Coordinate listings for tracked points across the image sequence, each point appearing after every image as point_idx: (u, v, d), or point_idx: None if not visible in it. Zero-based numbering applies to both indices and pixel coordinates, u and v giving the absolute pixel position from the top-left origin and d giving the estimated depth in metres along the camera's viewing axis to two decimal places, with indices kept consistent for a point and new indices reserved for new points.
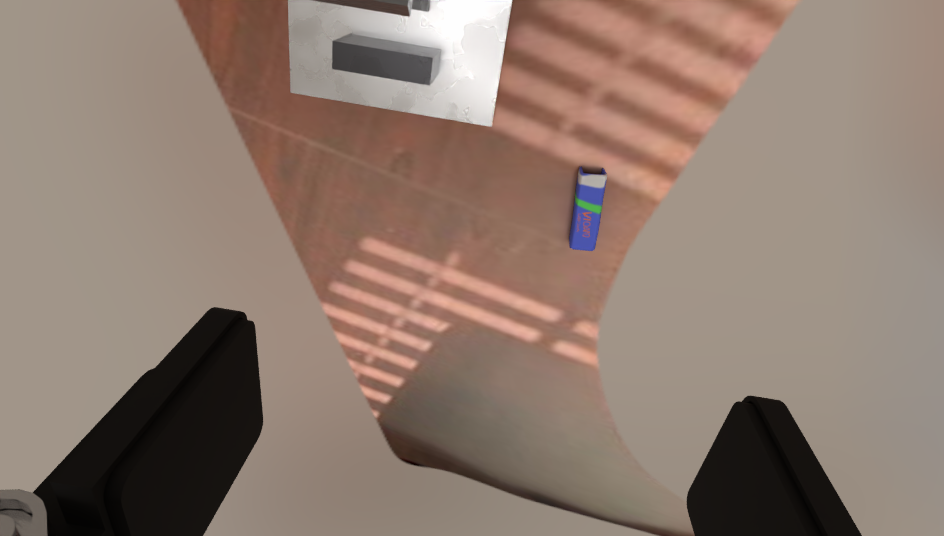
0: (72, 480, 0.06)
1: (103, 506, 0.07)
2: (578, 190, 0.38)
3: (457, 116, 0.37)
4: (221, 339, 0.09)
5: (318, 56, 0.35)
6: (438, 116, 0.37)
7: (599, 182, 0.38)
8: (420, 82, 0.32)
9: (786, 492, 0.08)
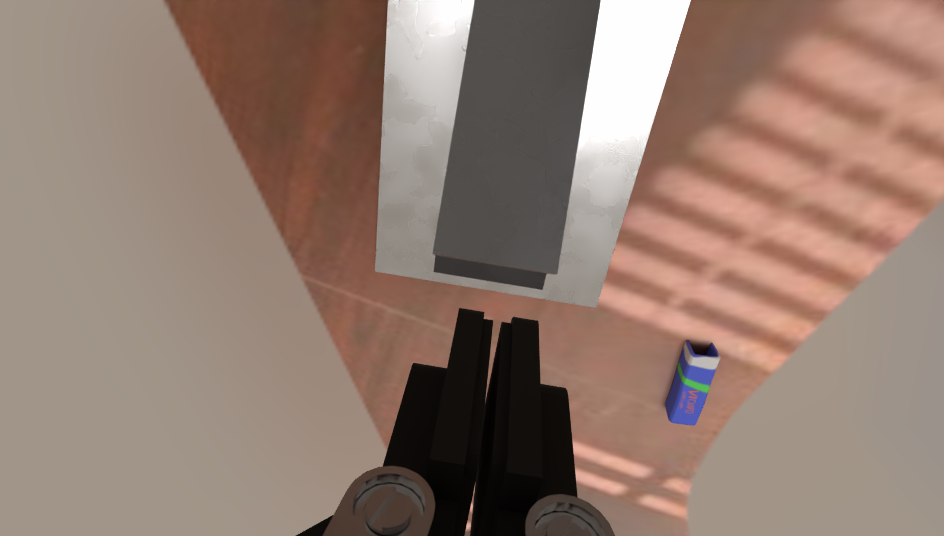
0: (443, 458, 0.07)
1: (462, 481, 0.08)
2: (686, 369, 0.35)
3: (559, 297, 0.33)
4: (481, 337, 0.10)
5: (409, 239, 0.32)
6: (537, 297, 0.33)
7: (711, 364, 0.35)
8: (532, 286, 0.29)
9: (500, 387, 0.09)
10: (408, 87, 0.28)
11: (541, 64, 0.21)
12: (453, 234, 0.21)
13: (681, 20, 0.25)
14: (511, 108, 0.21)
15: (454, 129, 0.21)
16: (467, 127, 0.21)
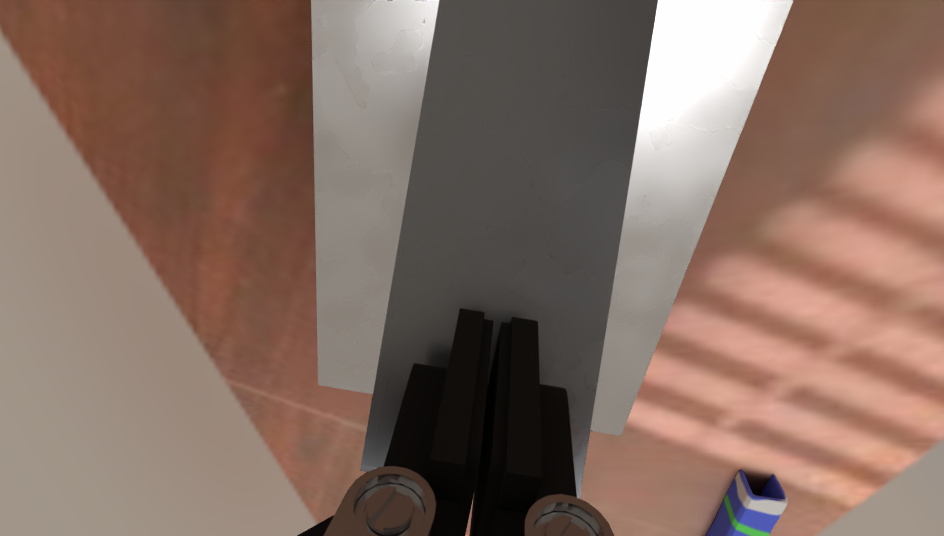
0: (444, 458, 0.07)
1: (462, 481, 0.08)
2: (740, 512, 0.26)
3: None
4: (481, 337, 0.10)
5: (362, 346, 0.23)
6: None
7: (775, 509, 0.26)
8: None
9: (499, 387, 0.09)
10: (349, 147, 0.19)
11: (550, 139, 0.12)
12: None
13: (768, 52, 0.16)
14: (498, 216, 0.12)
15: (399, 252, 0.12)
16: (421, 249, 0.12)
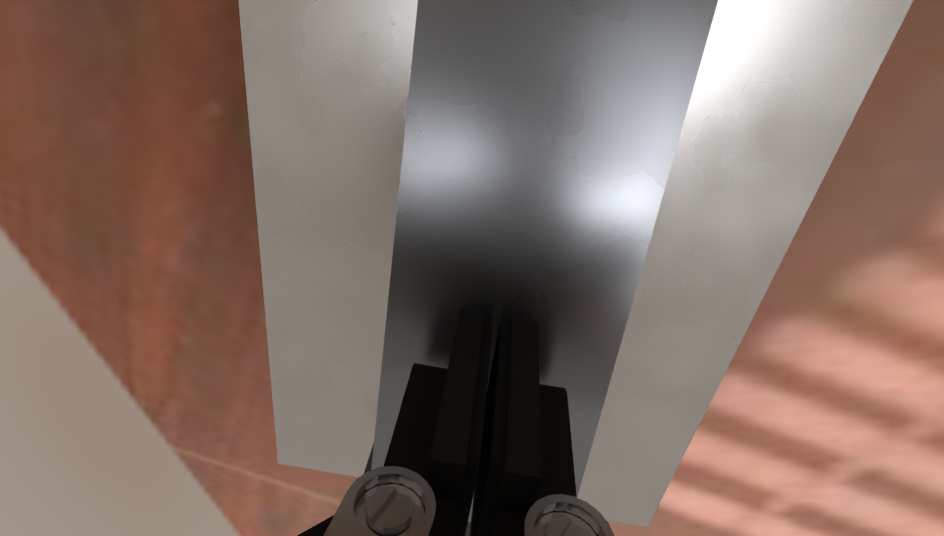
0: (444, 458, 0.07)
1: (462, 481, 0.08)
2: None
3: None
4: (481, 337, 0.10)
5: (329, 422, 0.19)
6: None
7: None
8: None
9: (499, 387, 0.09)
10: (301, 186, 0.14)
11: (553, 211, 0.10)
12: None
13: (875, 64, 0.11)
14: (492, 294, 0.11)
15: (387, 328, 0.12)
16: (411, 325, 0.11)
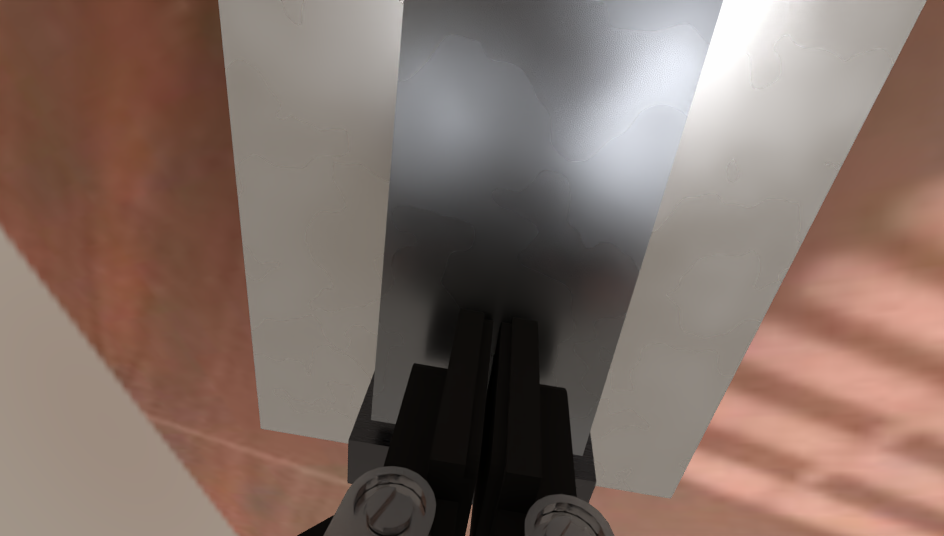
0: (444, 458, 0.07)
1: (462, 481, 0.08)
2: None
3: (602, 480, 0.18)
4: (481, 337, 0.10)
5: (317, 379, 0.17)
6: None
7: None
8: None
9: (499, 387, 0.09)
10: (281, 88, 0.12)
11: (579, 75, 0.09)
12: None
13: None
14: (507, 178, 0.10)
15: (389, 220, 0.10)
16: (415, 216, 0.10)
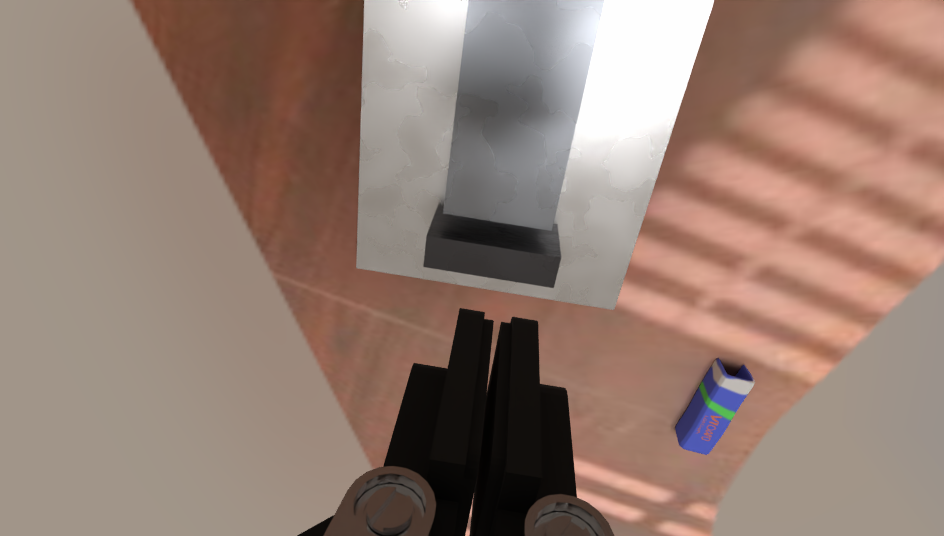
0: (444, 458, 0.07)
1: (462, 481, 0.08)
2: (714, 391, 0.31)
3: (570, 298, 0.28)
4: (481, 337, 0.10)
5: (395, 229, 0.27)
6: (546, 297, 0.29)
7: (743, 389, 0.30)
8: (541, 284, 0.24)
9: (499, 387, 0.09)
10: (392, 44, 0.23)
11: (545, 30, 0.20)
12: (461, 197, 0.24)
13: None
14: (513, 79, 0.21)
15: (457, 101, 0.22)
16: (470, 99, 0.22)
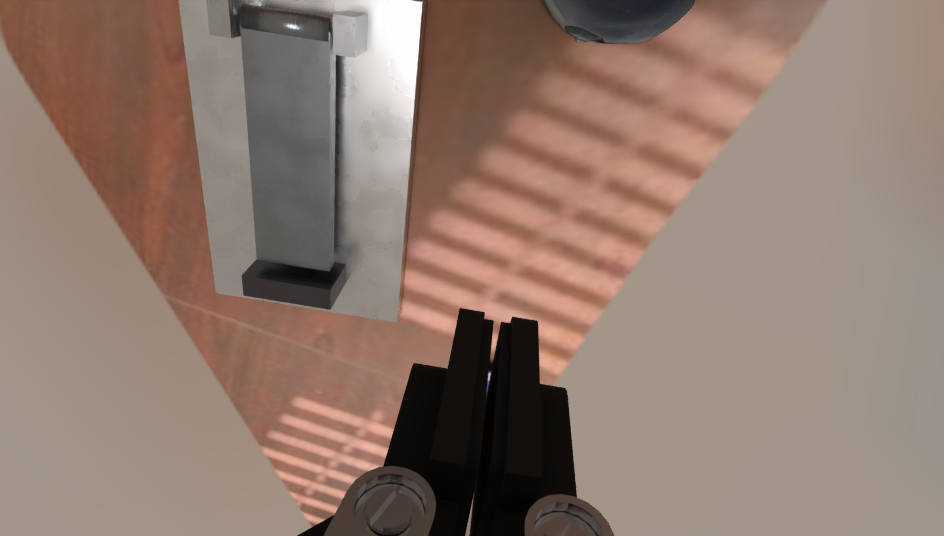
0: (444, 458, 0.07)
1: (462, 481, 0.08)
2: None
3: (366, 314, 0.40)
4: (481, 337, 0.10)
5: (238, 267, 0.39)
6: (349, 313, 0.41)
7: None
8: (321, 307, 0.36)
9: (499, 387, 0.09)
10: (216, 149, 0.35)
11: (298, 149, 0.32)
12: (266, 249, 0.36)
13: (412, 102, 0.32)
14: (284, 178, 0.33)
15: (252, 190, 0.34)
16: (260, 189, 0.34)
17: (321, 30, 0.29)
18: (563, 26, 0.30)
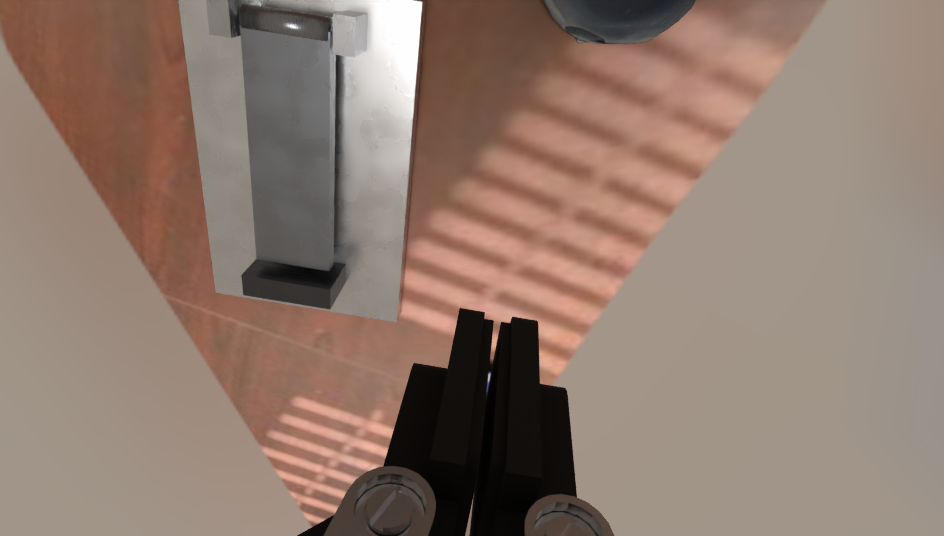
0: (444, 458, 0.07)
1: (462, 481, 0.08)
2: None
3: (365, 314, 0.40)
4: (481, 337, 0.10)
5: (238, 266, 0.39)
6: (349, 313, 0.41)
7: None
8: (321, 307, 0.36)
9: (499, 387, 0.09)
10: (216, 149, 0.35)
11: (297, 149, 0.32)
12: (266, 249, 0.36)
13: (412, 102, 0.32)
14: (284, 177, 0.33)
15: (252, 190, 0.34)
16: (259, 189, 0.34)
17: (321, 30, 0.29)
18: (563, 27, 0.30)
